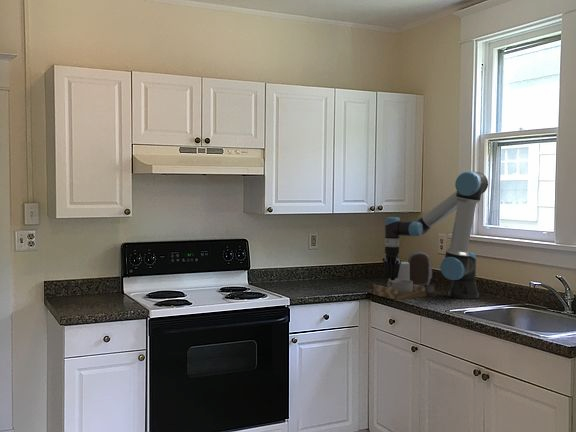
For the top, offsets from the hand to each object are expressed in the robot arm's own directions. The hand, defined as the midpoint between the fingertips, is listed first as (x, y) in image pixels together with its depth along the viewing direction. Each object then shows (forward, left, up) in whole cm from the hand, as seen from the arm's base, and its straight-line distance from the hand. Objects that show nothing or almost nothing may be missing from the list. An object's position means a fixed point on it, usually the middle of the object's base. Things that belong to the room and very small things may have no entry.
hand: (391, 290), depth 332 cm
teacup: (-8, +1, -2) cm, 8 cm away
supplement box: (+9, -14, -2) cm, 17 cm away
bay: (-8, -4, -2) cm, 9 cm away
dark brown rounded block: (+15, -33, -2) cm, 36 cm away
